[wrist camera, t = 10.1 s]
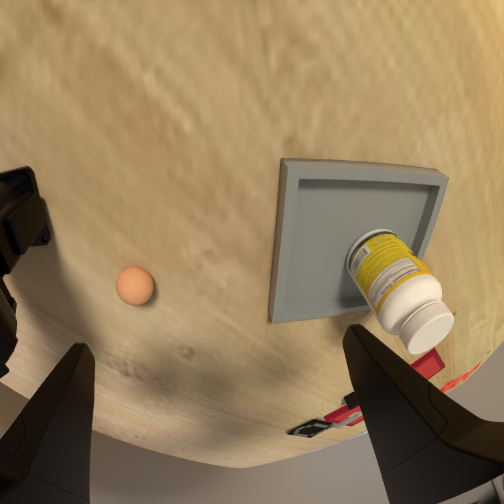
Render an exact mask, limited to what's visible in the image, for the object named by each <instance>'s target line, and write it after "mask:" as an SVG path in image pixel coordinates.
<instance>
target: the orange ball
mask: <svg viewBox="0 0 504 504" xmlns="http://www.w3.org/2000/svg"><path fill="white" fill-rule="evenodd" d="M153 287H154V285H153V280H152V278H151V276H150V274H149V273H148V272H147V271H146V270H144V269H142V268H140V267H129V268H126V269H125V270H123V271H122V272H121V273H120V275H119V276H118V278H117V281H116V290H117V293H118V296H119V297H120V298H121V300H122V301H124V302H125V303H127V304H129V305H133V306H137V305H141V304H144V303H145V302H147V301H148V300H149V299H150V297H151V295H152V293H153Z"/></svg>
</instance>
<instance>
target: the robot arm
mask: <svg viewBox="0 0 504 504" xmlns="http://www.w3.org/2000/svg"><path fill="white" fill-rule="evenodd" d="M25 171H26V172H27V174H28V176H27V175H26V174H25ZM43 237H44V238H45V239H46V240H45V239H44V238H43ZM50 239H51V238H50V234H49V231H48V228H47V225H46V219H45V216H44V212H43V209H42V205H41V201H40V197H39V194H38V192H37V188H36V184H35V180H34V176H33V171H32V169H31V168H30V167H29V166H25V167H20V168H16V169H12V170H8V171H4V172H1V173H0V378H2V377H3V376H4V375H6V374H7V373H8V372H9V368H8V367H7V366H6V365H5V364H6V363H7V361H8V360H9V358H10V356H11V355H12V353H13V352H14V349H15V347H16V344H17V342H18V339H17V337H16V331H17V320H16V316H15V314H16V307H17V303H16V301H15V299H14V298H13V297H12V296H11V295H10V293H9V291H8V289H7V287H6V285H5V283H4V281H3V277H4V276H5V274H10V272H11V271H12V269H13V268H14V266H15V265H16V263H17V262H18V260H19V259H20V257H21V256H22V255H24V254H25V253H26V251H27V250H28V248H29V247H31V246H42V245H47V244H48V243H49V242H50ZM343 349H344V353H345V357H346V362H347V366H348V370H349V375H350V379H351V383H352V386H353V389H354V392H355V395H356V397H357V400H358V403H359V406H360V409H361V412H362V415H363V418H364V421H365V424H366V427H367V430H368V433H369V436H370V439H371V443H372V445H373V449H374V452H375V455H376V459H377V462H378V465H379V468H380V471H381V474H382V479H383V482H384V486H385V489H386V493H387V496H388V500H389V503H390V504H504V422H492V421H487V420H483V419H481V418H479V417H477V416H476V415H474V414H473V413H471V412H470V411H468V410H466V409H465V408H464V407H462V406H461V405H459V404H458V403H456V402H455V401H454V400H452V399H451V398H449V397H448V396H447V395H445V394H444V393H443V392H442V391H440V390H439V389H438V388H437V387H435V386H434V385H433V384H432V383H431V382H429V381H428V380H427V379H426V378H425V377H423V376H422V375H421V374H420V373H419V372H417V371H416V370H415V369H414V368H413V367H411V366H410V365H409V364H408V363H407V362H405V361H404V360H403V359H402V358H401V357H399V356H398V355H397V354H396V353H395V352H393V351H392V350H391V349H390V348H389V347H387V346H386V345H385V344H384V343H383V342H381V341H380V340H379V339H378V338H377V337H375V336H374V335H373V334H372V333H370V332H369V331H368V330H367V329H366V328H364V327H363V326H362V325H360V324H354V325H349V326H348V328H347V330H346V333H345V335H344V338H343ZM94 382H95V359H94V356H93V354H92V352H91V351H90V349H89V347H88V345H87V344H86V343H75V344H73V346H72V347H71V348H70V349H69V350H68V352H67V353H66V354H65V355H64V357H63V358H62V359H61V360H60V362H59V363H58V364H57V365H56V367H55V368H54V369H53V370H52V372H51V373H50V374H49V375H48V377H47V378H46V379H45V381H44V382H43V383H42V384H41V386H40V387H39V388H38V390H37V391H36V392H35V394H34V395H33V396H32V398H31V399H30V400H29V402H28V403H27V405H26V406H25V407H24V409H23V410H22V411H21V413H20V414H19V416H18V417H17V418H16V420H15V421H14V422H13V424H12V425H11V427H10V428H9V429H8V430H7V432H6V433H5V434H4V435H3V437H2V438H1V439H0V504H90V501H89V500H90V496H89V495H90V491H89V490H90V487H89V481H90V479H89V477H90V446H91V432H92V419H93V409H94Z"/></svg>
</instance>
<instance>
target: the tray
mask: <svg viewBox="0 0 504 504" xmlns="http://www.w3.org/2000/svg"><path fill="white" fill-rule="evenodd" d="M448 180H449V177H447V176H446V175H444V174H443V173H441V172H440V171H438V170H436V169H430V168H422V167H414V166H405V165H395V164H385V163H374V162H361V161H345V160H326V159H293V158H281V166H280V179H279V192H278V204H277V217H276V229H275V240H274V252H273V263H272V274H271V284H270V295H269V305H268V310H269V314H270V318H271V322H272V323H280V322H289V321H297V320H306V319H314V318H321V317H329V316H336V315H343V314H349V313H356V312H362V311H369V310H372V309H371V308H370V306H369V305H368V303H367V301H366V300H365V298H364V296H363V295H362V293H361V291H360V290H359V288H358V287H357V285H356V283H355V282H354V280H353V279H352V277H351V275H350V273H349V272H348V269H347V256H348V253H349V251H350V249H351V247H352V246H353V244H354V243H355V242H356V241H357V240H358V239H359V238H360V237H361V236H363V235H364V234H366V233H368V232H370V231H372V230H376V229H388V230H390V231H392V232H394V233H395V234H396V235H397V236H398V237H399V238H400V239H401V240H402V241H403V242H404V243H405V244H406V245H407V247H408V248H409V249H410V250H411V251H412V252H413V253H414V254H415V255H416V256H417V257H418V258H419V260H420V261H422V258H423V256H424V253H425V251H426V248H427V245H428V243H429V240H430V237H431V234H432V231H433V228H434V226H435V223H436V220H437V217H438V213H439V210H440V207H441V204H442V201H443V197H444V194H445V190H446V187H447V183H448Z"/></svg>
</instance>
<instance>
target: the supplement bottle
mask: <svg viewBox="0 0 504 504" xmlns="http://www.w3.org/2000/svg"><path fill="white" fill-rule="evenodd" d="M347 269H348V272H349V273H350V275H351V277H352V279H353V280H354V282H355V283H356V285H357V287H358V288H359V290H360V291H361V293H362V295H363V296H364V298H365V300H366V301H367V303H368V305H369V306H370V308H371V309H372V311H373V313H374V314H375V316H376V318H377V320H378V321H379V323H380V324H381V326H382V328H383V329H384V330H385V331H386V332H388V333H389V334H392V335H399V337H400V339H401V341H402V343H403V344H404V346H405V348H406V349H407V351H408V352H409V353H410V354H420V353H423V352H425V351H427V350H429V349H431V348H432V347H434V346H435V345H437V344H438V343H439V342H440V341H441V340H442V339H443V338H444V337H445V336H446V335H447V334H448V332H449V331H450V329H451V328H452V326H453V323H454V317H453V315H452V313H451V312H450V311H449V309H448V308H447V306H446V305H445V304H444V303H443V302H442V301H441V298H442V289H441V286H440V283H439V282H438V280H437V279H436V278H435V277H434V275H433V274H432V273H431V272H430V271H429V270H428V269H427V267H426V266H425V265H424V264H423V263H422V262H421V261H420V260H419V258H418V257H417V256H416V255H415V254H414V253H413V252H412V251H411V250H410V249H409V248H408V247H407V245H406V244H405V243H404V242H403V241H402V240H401V239H400V238H399V237H398V236H397V235H396V234H395V233H394V232H392V231H390V230H388V229H376V230H372V231H370V232H368V233H366V234H364V235H363V236H361V237H360V238H359V239H358V240H357V241H356V242H355V243H354V244H353V246H352V247H351V249H350V251H349V253H348V256H347Z"/></svg>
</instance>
